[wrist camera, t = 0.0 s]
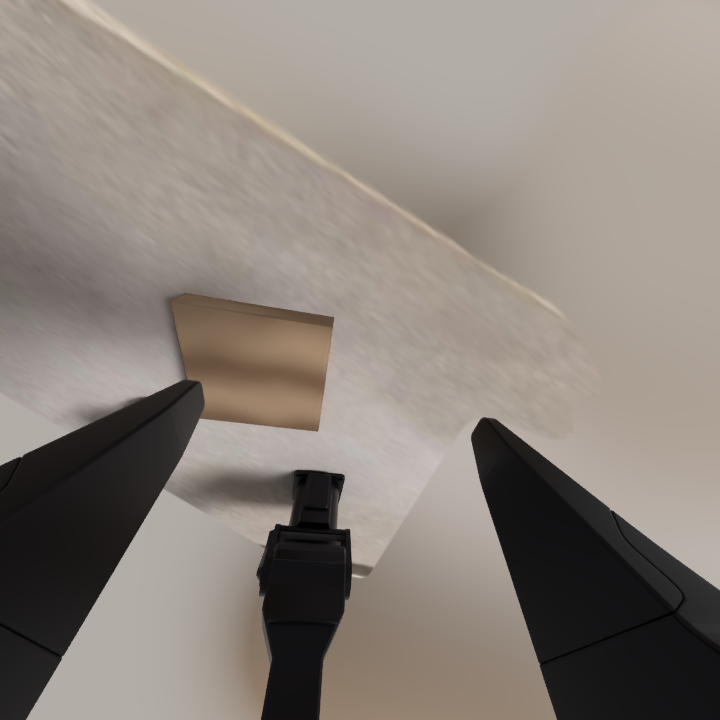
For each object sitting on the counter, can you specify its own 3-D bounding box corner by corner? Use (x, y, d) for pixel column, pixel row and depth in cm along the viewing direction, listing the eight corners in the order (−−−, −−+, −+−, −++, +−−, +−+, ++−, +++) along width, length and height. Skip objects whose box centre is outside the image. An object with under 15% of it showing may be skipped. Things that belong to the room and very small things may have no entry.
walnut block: (320, 414, 29) (318, 431, 27) (207, 400, 28) (195, 417, 26) (334, 314, 23) (332, 327, 21) (188, 291, 21) (170, 302, 19)
